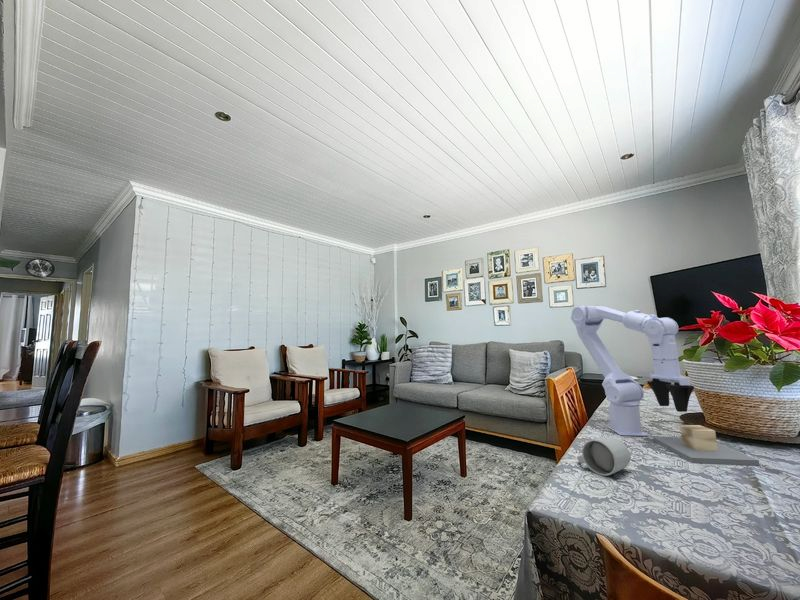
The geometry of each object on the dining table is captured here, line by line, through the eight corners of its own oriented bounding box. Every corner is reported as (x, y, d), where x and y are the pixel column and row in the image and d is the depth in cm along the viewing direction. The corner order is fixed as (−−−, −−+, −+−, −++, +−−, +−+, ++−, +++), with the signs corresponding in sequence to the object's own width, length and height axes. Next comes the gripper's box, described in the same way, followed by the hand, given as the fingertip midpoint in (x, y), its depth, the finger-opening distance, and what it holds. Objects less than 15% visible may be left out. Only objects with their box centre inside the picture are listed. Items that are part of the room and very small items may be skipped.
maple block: (682, 443, 88) (680, 424, 88) (702, 444, 87) (700, 425, 88) (695, 450, 83) (693, 430, 84) (717, 450, 82) (715, 430, 83)
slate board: (653, 441, 94) (652, 436, 94) (708, 442, 91) (707, 438, 92) (691, 462, 78) (691, 457, 78) (759, 465, 76) (758, 460, 76)
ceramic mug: (634, 471, 74) (630, 437, 75) (617, 481, 70) (613, 444, 71) (588, 458, 83) (585, 427, 84) (570, 466, 79) (567, 433, 80)
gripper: (636, 358, 99) (642, 403, 98) (665, 361, 85) (673, 414, 83) (661, 358, 98) (668, 403, 96) (695, 360, 84) (704, 414, 82)
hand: (672, 408), depth 90 cm, fingers open, 7 cm apart
